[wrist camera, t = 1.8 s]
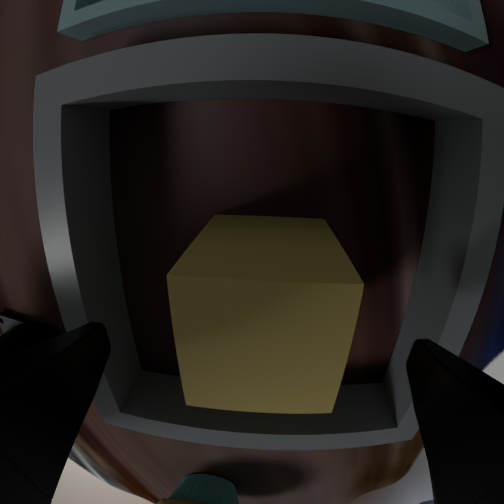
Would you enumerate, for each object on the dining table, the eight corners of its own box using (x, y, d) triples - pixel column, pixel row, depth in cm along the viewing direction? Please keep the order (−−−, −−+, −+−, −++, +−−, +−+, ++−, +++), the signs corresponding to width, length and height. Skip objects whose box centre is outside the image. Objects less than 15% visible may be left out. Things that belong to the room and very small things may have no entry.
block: (217, 308, 14) (185, 405, 8) (214, 214, 12) (166, 275, 7) (313, 313, 14) (331, 412, 8) (324, 218, 12) (364, 284, 6)
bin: (125, 383, 16) (104, 422, 13) (84, 84, 10) (35, 76, 7) (396, 397, 15) (411, 439, 12) (460, 97, 9) (508, 90, 6)
